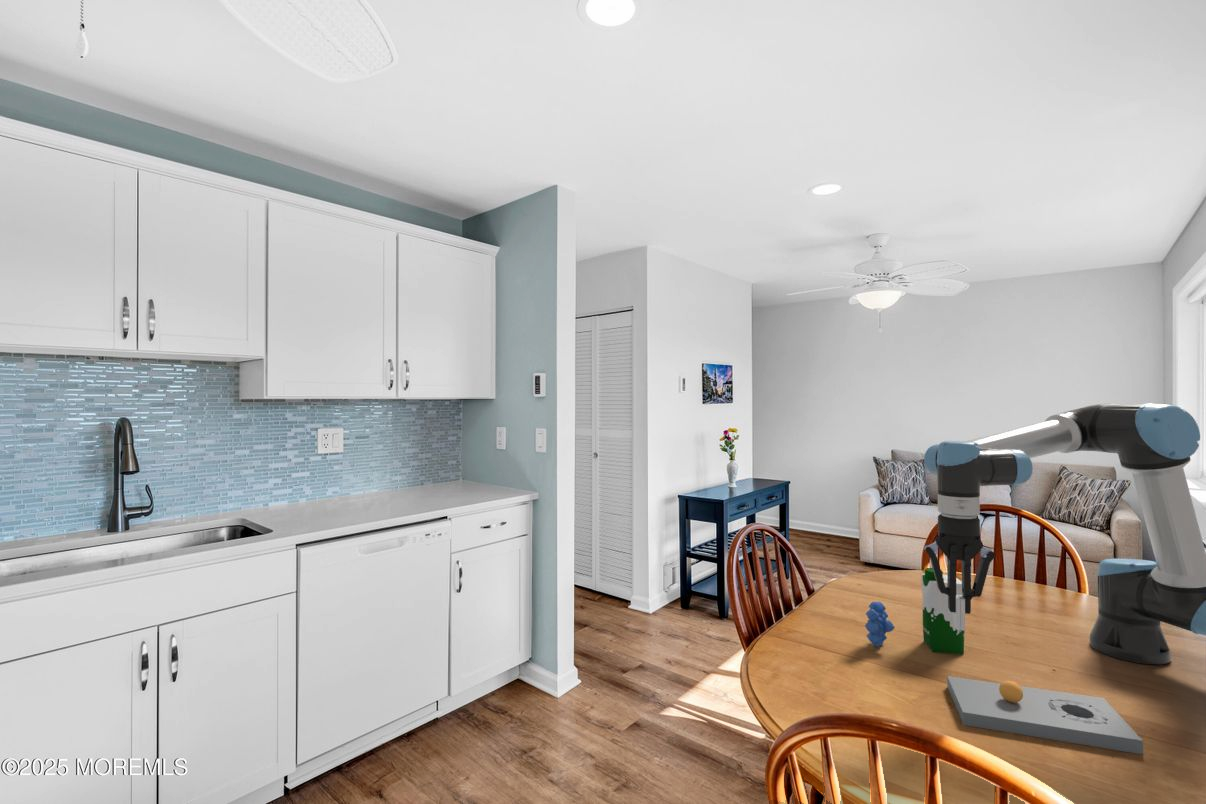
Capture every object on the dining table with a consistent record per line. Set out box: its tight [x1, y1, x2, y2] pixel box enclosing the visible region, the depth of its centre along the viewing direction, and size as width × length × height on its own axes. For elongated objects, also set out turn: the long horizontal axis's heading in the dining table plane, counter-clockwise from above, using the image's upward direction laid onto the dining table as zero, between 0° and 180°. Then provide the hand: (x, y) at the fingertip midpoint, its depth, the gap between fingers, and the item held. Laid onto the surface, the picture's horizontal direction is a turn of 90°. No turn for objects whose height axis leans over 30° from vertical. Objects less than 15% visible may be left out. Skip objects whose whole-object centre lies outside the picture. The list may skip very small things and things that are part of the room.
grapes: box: [864, 601, 895, 648], centre depth 151 cm, size 12×7×12 cm, turn 139°
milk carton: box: [920, 567, 965, 655], centre depth 150 cm, size 9×9×20 cm
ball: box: [999, 680, 1023, 703], centre depth 118 cm, size 4×4×4 cm
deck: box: [946, 675, 1144, 755], centre depth 117 cm, size 28×16×2 cm, turn 69°
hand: (959, 627), depth 122 cm, fingers closed
